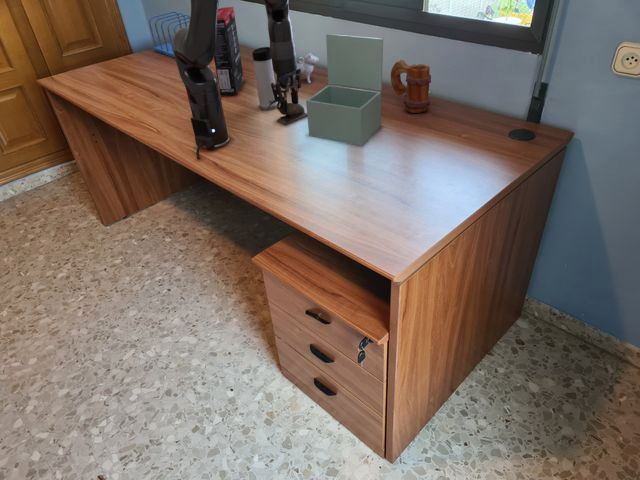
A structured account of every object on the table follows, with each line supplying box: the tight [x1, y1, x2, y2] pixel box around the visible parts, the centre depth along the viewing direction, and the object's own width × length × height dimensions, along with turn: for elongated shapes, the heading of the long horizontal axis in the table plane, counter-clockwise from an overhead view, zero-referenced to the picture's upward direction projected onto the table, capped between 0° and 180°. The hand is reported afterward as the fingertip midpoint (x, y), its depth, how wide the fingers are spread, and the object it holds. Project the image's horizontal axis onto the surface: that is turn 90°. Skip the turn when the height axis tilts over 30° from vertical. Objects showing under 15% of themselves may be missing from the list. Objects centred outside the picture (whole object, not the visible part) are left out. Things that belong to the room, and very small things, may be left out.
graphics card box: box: [213, 6, 245, 96], centre depth 176 cm, size 17×7×27 cm, turn 178°
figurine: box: [267, 100, 308, 126], centre depth 154 cm, size 14×4×9 cm, turn 129°
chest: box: [305, 84, 382, 147], centre depth 145 cm, size 14×18×11 cm
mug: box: [390, 59, 432, 114], centre depth 154 cm, size 15×8×15 cm, turn 47°
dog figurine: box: [297, 51, 320, 84], centre depth 182 cm, size 5×13×11 cm, turn 95°
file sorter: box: [148, 11, 190, 59], centre depth 225 cm, size 25×17×15 cm
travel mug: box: [251, 46, 278, 111], centre depth 161 cm, size 6×7×20 cm
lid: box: [325, 33, 384, 92], centre depth 143 cm, size 15×18×6 cm
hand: (290, 107), depth 154 cm, fingers closed on figurine, 5 cm apart
